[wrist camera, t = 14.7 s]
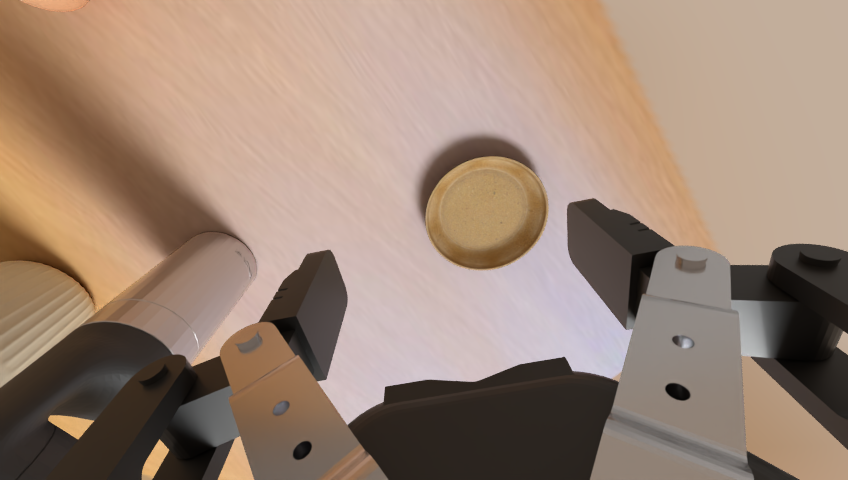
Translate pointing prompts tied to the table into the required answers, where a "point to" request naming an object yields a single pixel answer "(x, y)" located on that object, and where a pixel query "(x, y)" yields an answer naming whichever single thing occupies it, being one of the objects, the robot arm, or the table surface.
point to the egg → (57, 4)
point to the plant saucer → (486, 213)
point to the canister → (36, 312)
